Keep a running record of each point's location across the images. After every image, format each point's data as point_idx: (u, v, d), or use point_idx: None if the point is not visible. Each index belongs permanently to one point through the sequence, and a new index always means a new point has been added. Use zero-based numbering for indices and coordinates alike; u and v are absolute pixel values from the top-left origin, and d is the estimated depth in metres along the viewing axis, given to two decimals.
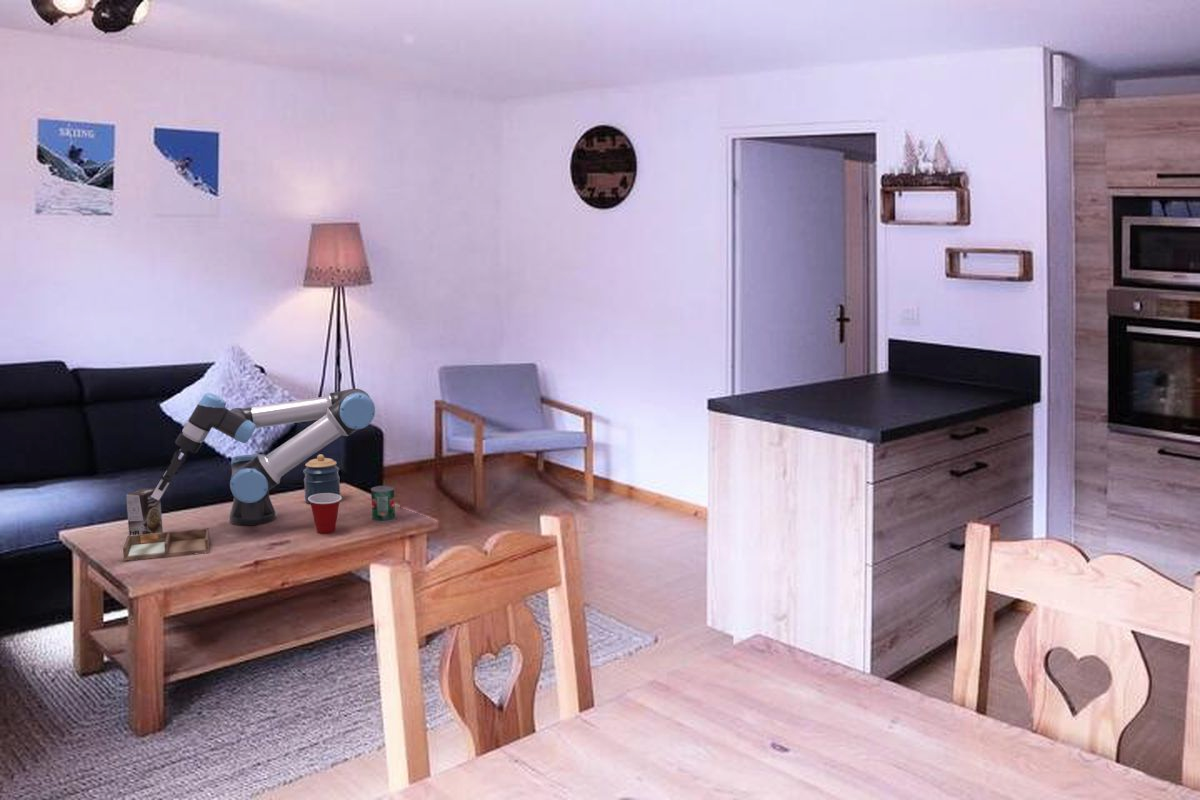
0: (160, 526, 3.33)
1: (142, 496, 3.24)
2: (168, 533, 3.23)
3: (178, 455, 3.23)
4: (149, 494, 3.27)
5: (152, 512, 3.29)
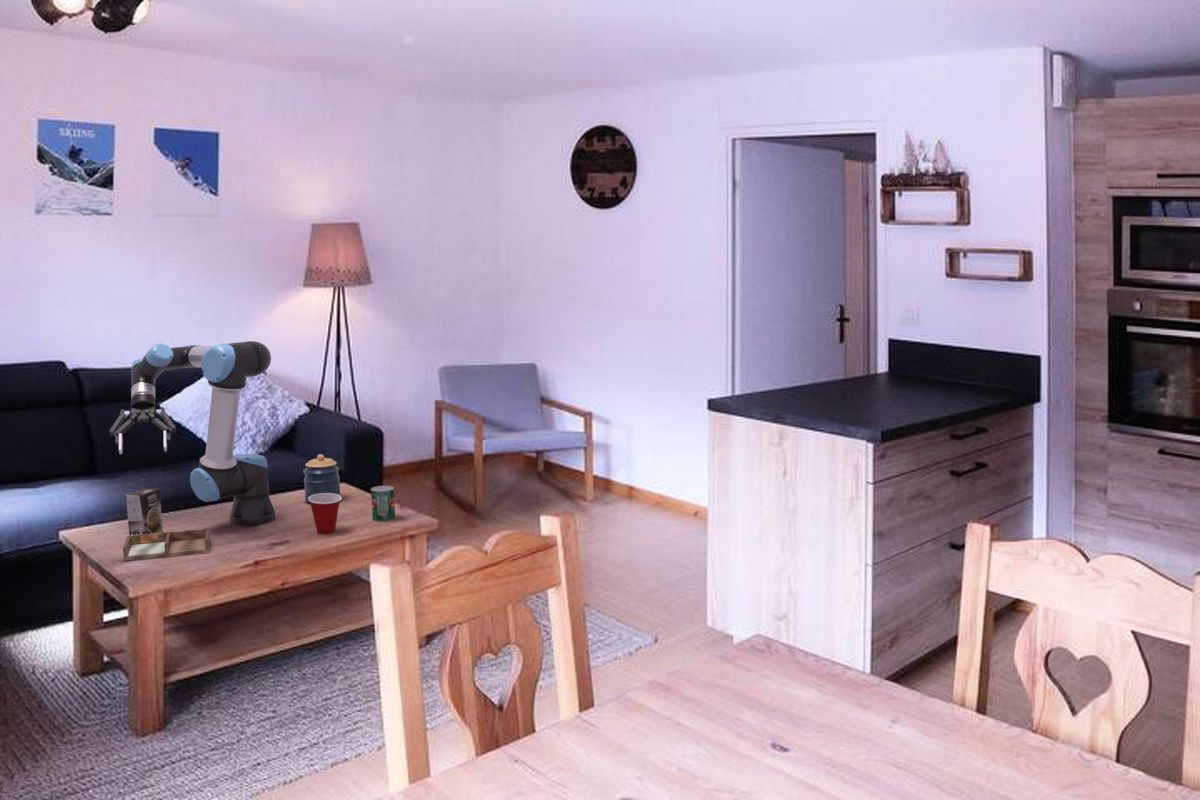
0: (160, 526, 3.33)
1: (142, 496, 3.24)
2: (168, 533, 3.23)
3: None
4: (149, 494, 3.27)
5: (152, 512, 3.29)
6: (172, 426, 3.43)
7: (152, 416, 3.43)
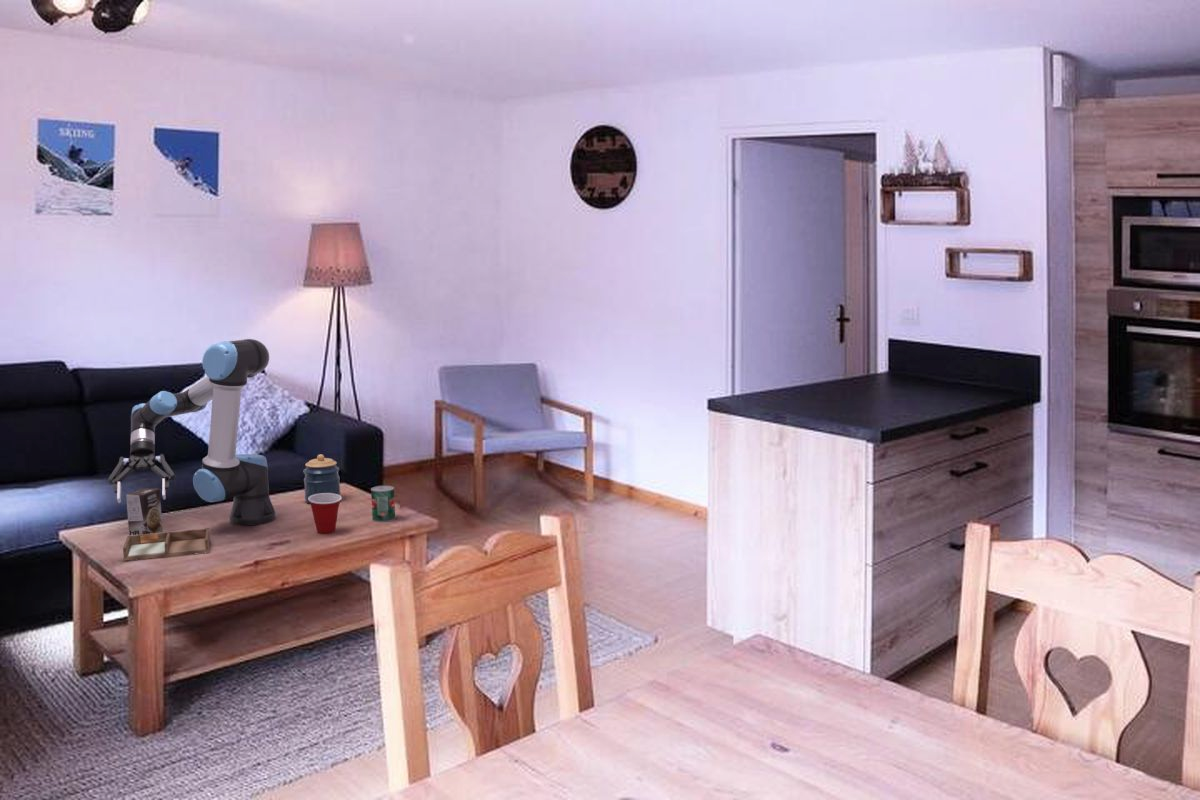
0: (160, 526, 3.33)
1: (142, 496, 3.24)
2: (168, 533, 3.23)
3: None
4: (149, 494, 3.27)
5: (152, 512, 3.29)
6: (171, 473, 3.41)
7: (151, 463, 3.41)
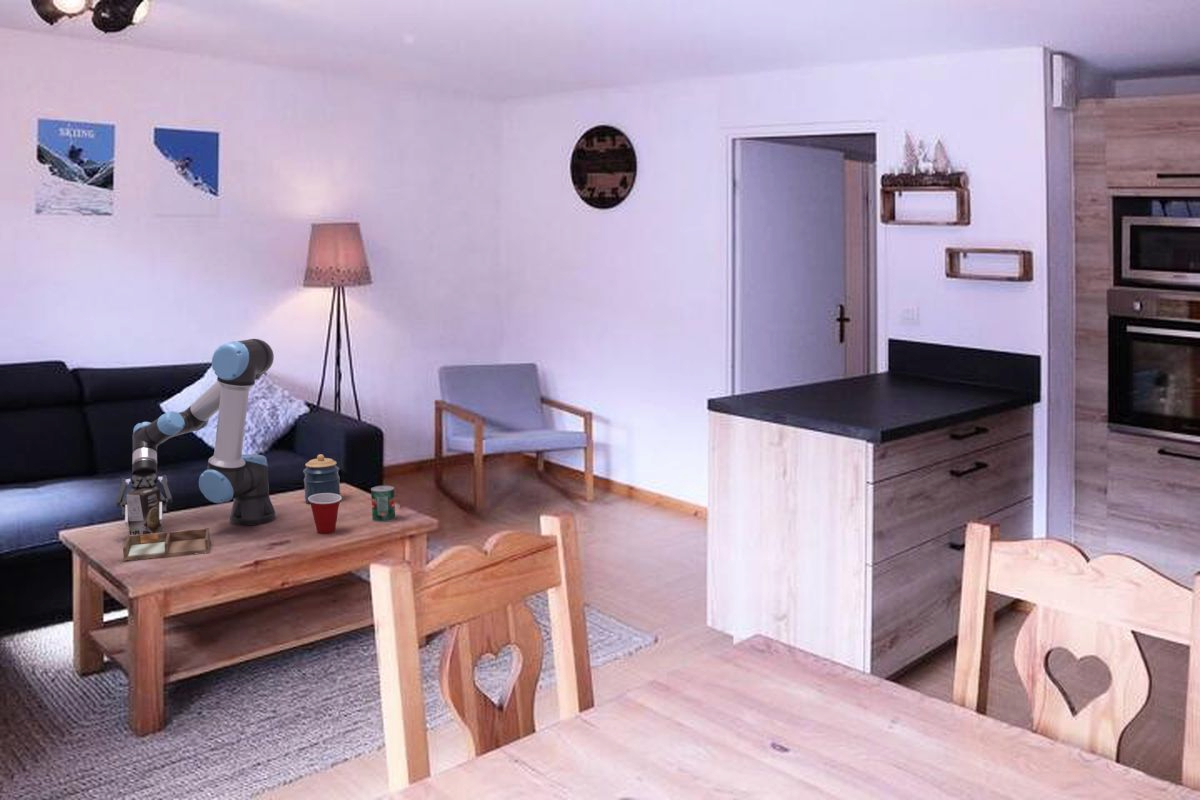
0: (160, 526, 3.33)
1: (142, 496, 3.24)
2: (168, 533, 3.23)
3: None
4: (149, 494, 3.27)
5: (152, 511, 3.29)
6: (168, 497, 3.33)
7: (152, 484, 3.34)
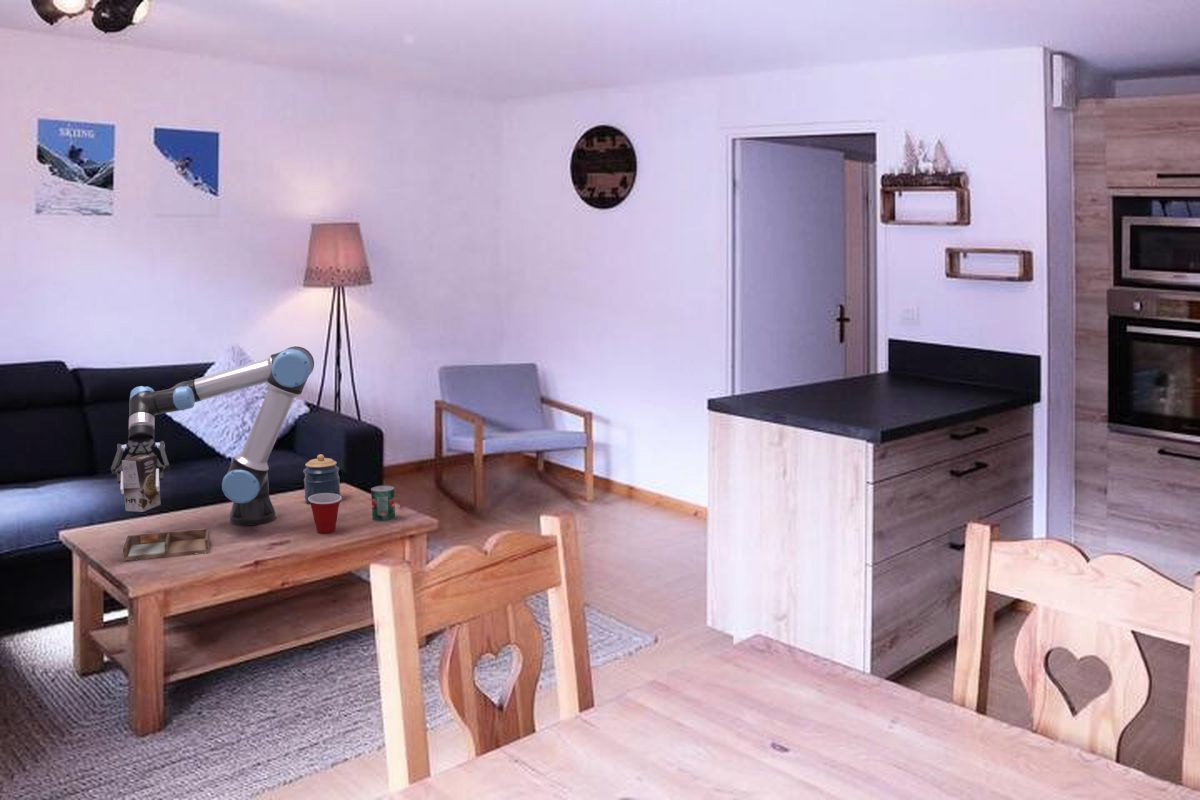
0: (157, 494, 3.17)
1: (139, 462, 3.08)
2: (168, 533, 3.23)
3: None
4: (146, 460, 3.11)
5: (149, 478, 3.13)
6: (166, 463, 3.17)
7: (148, 450, 3.18)
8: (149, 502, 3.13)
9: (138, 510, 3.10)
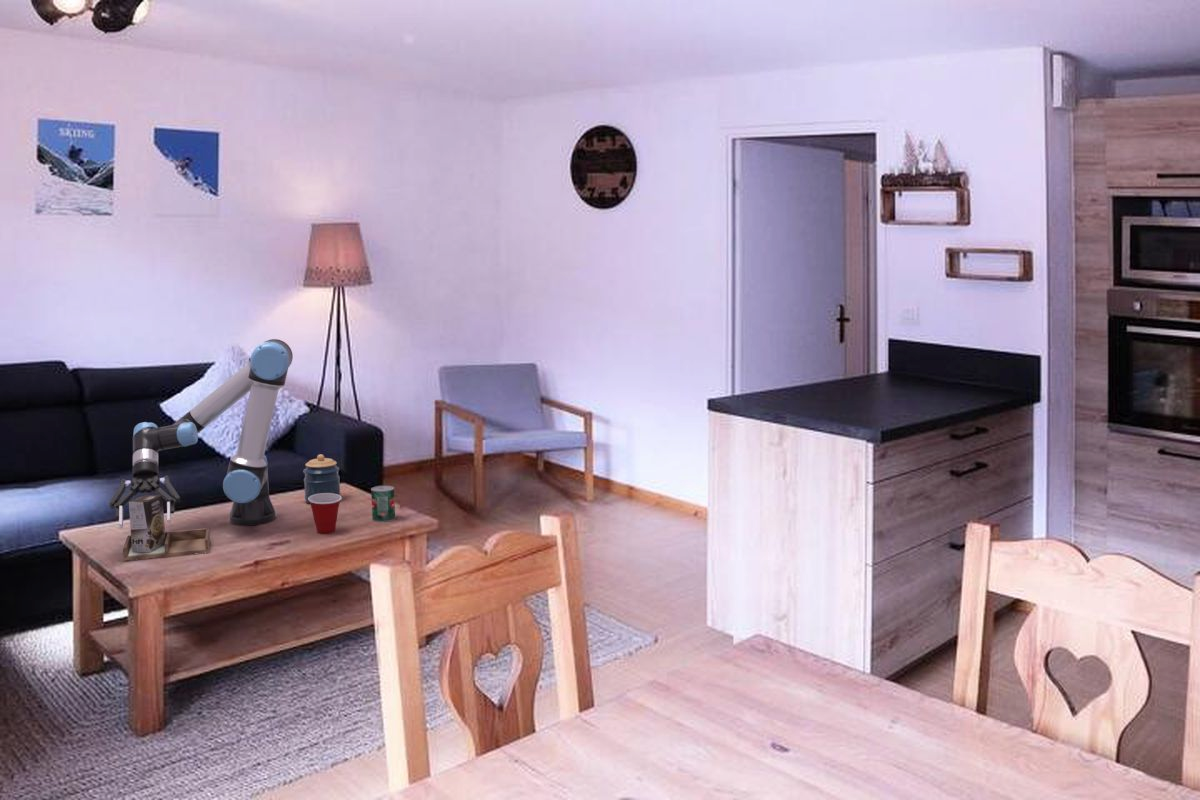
0: (163, 534, 3.19)
1: (146, 503, 3.10)
2: (168, 533, 3.23)
3: None
4: (153, 501, 3.13)
5: (156, 519, 3.15)
6: (176, 496, 3.19)
7: (155, 486, 3.19)
8: (156, 542, 3.15)
9: (145, 551, 3.12)
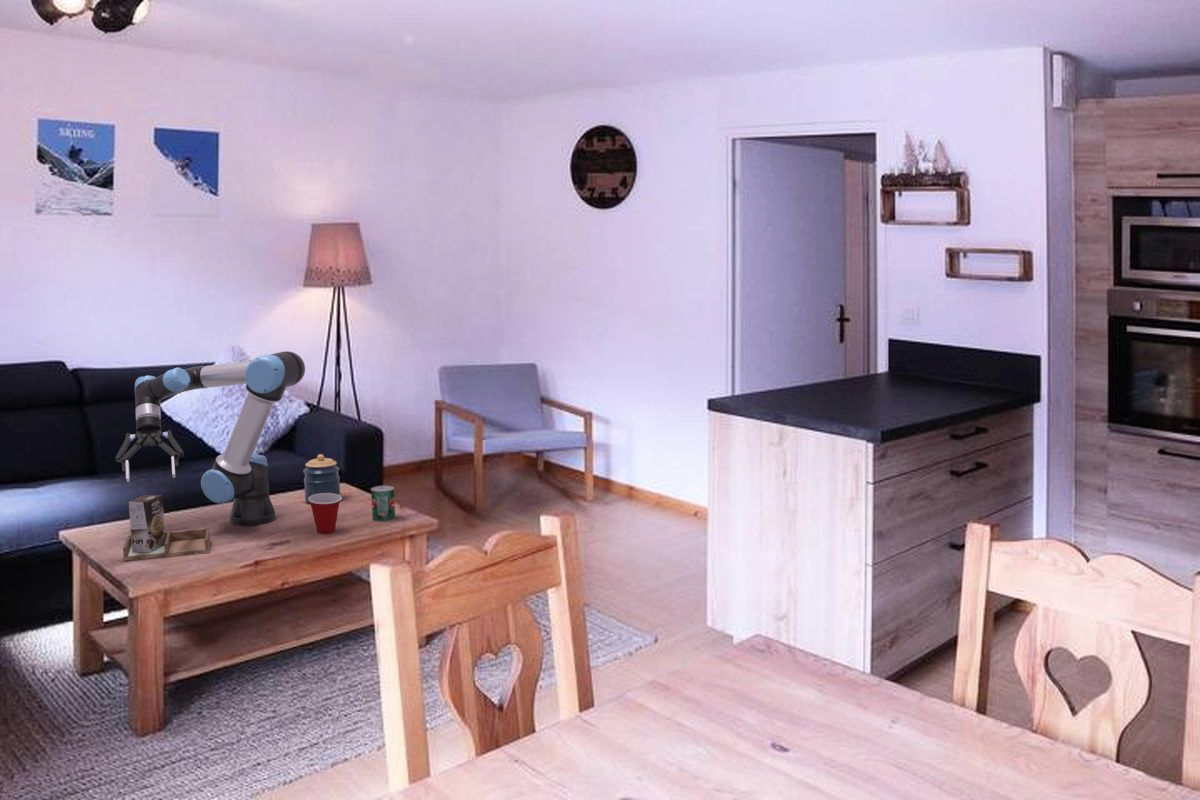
0: (163, 534, 3.19)
1: (146, 503, 3.10)
2: (168, 533, 3.23)
3: None
4: (153, 501, 3.13)
5: (156, 519, 3.15)
6: (180, 451, 3.33)
7: (159, 440, 3.32)
8: (156, 542, 3.15)
9: (145, 551, 3.12)
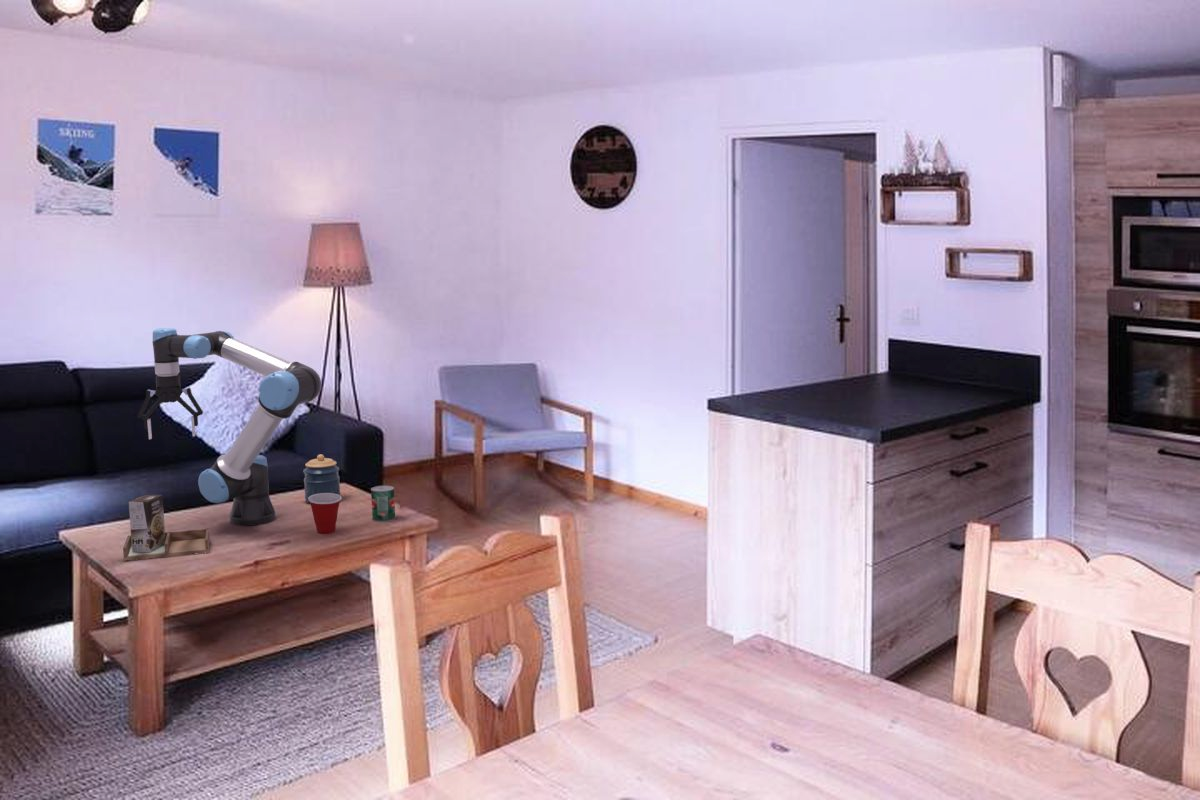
0: (163, 534, 3.19)
1: (146, 503, 3.10)
2: (168, 533, 3.23)
3: None
4: (153, 501, 3.13)
5: (156, 519, 3.15)
6: (199, 412, 3.43)
7: (179, 400, 3.40)
8: (156, 542, 3.15)
9: (145, 551, 3.12)
